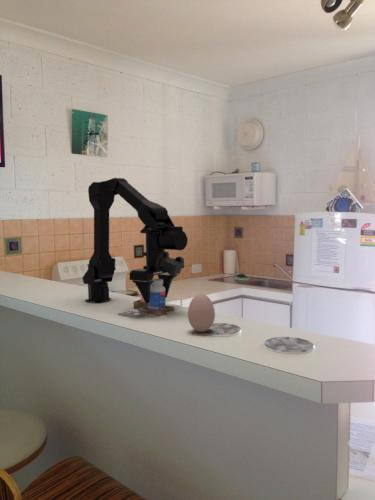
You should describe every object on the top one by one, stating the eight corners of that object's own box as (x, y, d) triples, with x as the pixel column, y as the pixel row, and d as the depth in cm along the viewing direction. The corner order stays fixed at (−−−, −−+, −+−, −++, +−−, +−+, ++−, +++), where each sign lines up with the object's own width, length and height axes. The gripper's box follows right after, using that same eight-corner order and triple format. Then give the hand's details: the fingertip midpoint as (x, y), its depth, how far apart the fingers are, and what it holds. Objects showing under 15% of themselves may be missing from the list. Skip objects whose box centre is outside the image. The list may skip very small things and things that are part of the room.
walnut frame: (133, 308, 144) (133, 301, 144) (144, 305, 149) (144, 298, 149) (148, 310, 141) (148, 303, 141) (159, 306, 146) (159, 299, 146)
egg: (215, 335, 113) (215, 296, 112) (187, 335, 113) (187, 296, 113) (214, 328, 120) (214, 291, 119) (188, 328, 120) (187, 291, 119)
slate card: (118, 315, 136) (118, 313, 136) (128, 311, 140) (128, 310, 140) (137, 317, 132) (137, 316, 132) (147, 314, 137) (147, 312, 137)
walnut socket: (138, 312, 138) (138, 308, 138) (153, 307, 145) (153, 304, 145) (159, 315, 134) (159, 311, 134) (174, 310, 141) (174, 306, 141)
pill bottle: (163, 314, 137) (162, 281, 136) (145, 313, 138) (144, 280, 137) (167, 309, 142) (167, 278, 141) (150, 309, 143) (150, 278, 142)
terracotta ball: (137, 308, 145) (137, 295, 144) (145, 305, 148) (145, 293, 148) (147, 309, 143) (147, 296, 142) (155, 307, 146) (155, 294, 146)
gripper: (159, 252, 126) (160, 309, 127) (194, 247, 142) (195, 297, 143) (127, 251, 132) (128, 305, 133) (164, 245, 148) (165, 294, 149)
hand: (156, 300), depth 139 cm, fingers open, 9 cm apart
